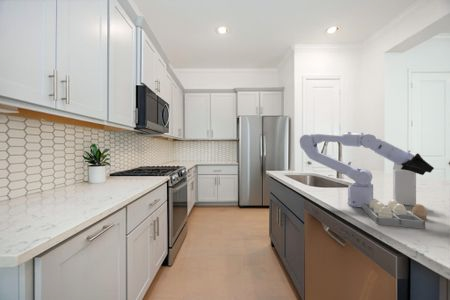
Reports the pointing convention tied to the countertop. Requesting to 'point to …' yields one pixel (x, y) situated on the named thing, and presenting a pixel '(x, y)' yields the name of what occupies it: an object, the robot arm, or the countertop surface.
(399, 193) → the milk carton
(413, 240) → the countertop surface
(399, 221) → the egg carton
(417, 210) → the brown egg
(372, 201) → the cream eggs
